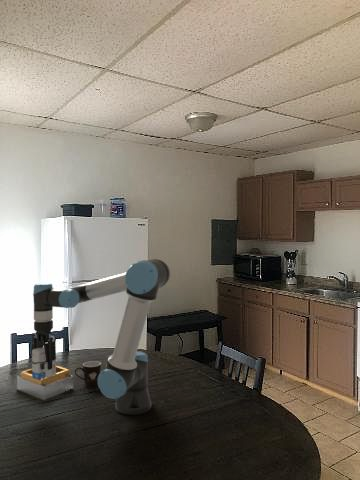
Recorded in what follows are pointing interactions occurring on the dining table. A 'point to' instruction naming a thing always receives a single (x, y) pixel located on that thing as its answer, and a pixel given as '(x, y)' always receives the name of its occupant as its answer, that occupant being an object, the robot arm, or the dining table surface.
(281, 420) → the dining table surface
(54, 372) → the ink box
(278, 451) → the dining table surface
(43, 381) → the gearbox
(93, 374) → the coffee mug
